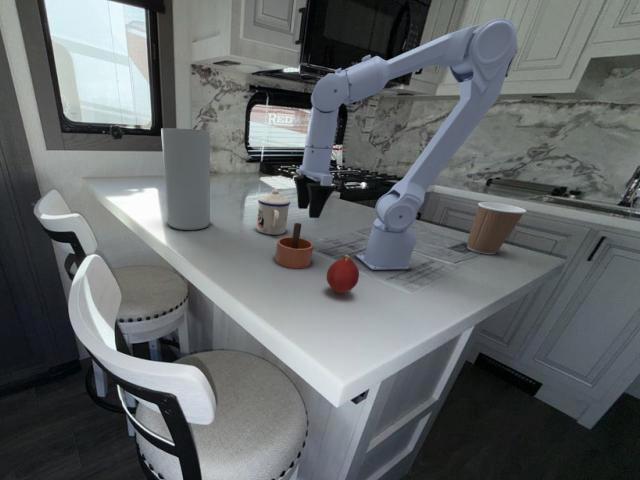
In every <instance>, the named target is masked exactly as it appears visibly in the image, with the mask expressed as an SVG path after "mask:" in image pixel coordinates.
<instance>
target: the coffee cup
mask: <svg viewBox="0 0 640 480" xmlns="http://www.w3.org/2000/svg"><path fill="white" fill-rule="evenodd" d="M477 205H478V207H477V210H476V213H475V216H474V220H473V222H472V227H471V230H470V233H469V236H468V238H467V242H466V243H467V244H466V248H467V249H468V250H470V251H472V252H475V253H478V254H483V255H495V254H497V252H498V251H499V250H500V249H501V247H502V246H503V244H504V243H505V242H506V240H507V238H508V237H509V236H510V234H511V233H512V231H513V230H514V229H515V227H516V226H517V224H518V223H519V222H520V220H521V219H522V217H523V214H526V213H527V210H526V209H525V208H522V207H520V206H515V205H510V204H507V203H501V202H492V201H491V202H490V201H480V202H478V203H477Z"/></svg>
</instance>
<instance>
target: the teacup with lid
mask: <svg viewBox="0 0 640 480" xmlns="http://www.w3.org/2000/svg"><path fill="white" fill-rule="evenodd" d="M257 202H258V206H257V219H256V220H257V221H256V230H257V232H259V233H261V234H264V235H269V236H278V235H283V234H285V233H286V231H287V224H288V215H289V210H290V209H289V208H290V205H291V200H290V199H289V198H288V197H285V196H284V195H282V194H281V193H280V191H279V189H277V188H275V189H274V188H273V189H272V190H271V192H270V193H267V194H265V195H261V196H260V197H258V200H257Z"/></svg>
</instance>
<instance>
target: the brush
mask: <svg viewBox="0 0 640 480" xmlns="http://www.w3.org/2000/svg"><path fill="white" fill-rule="evenodd" d="M301 230H302V223H299V222H295V223H294V224H293V231H292V235H291V237H292V243H291V247H289V248H294V249H301V248H300V247H298V244H299V238H301V237H300V236H301Z"/></svg>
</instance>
